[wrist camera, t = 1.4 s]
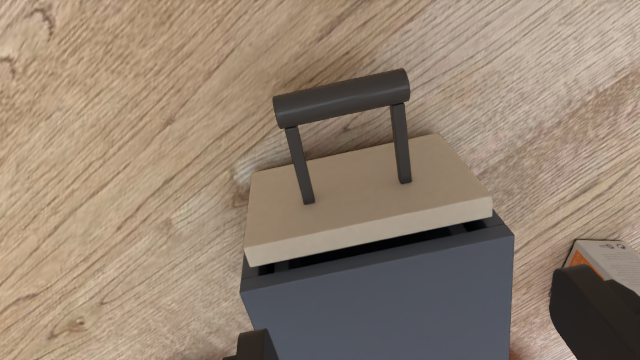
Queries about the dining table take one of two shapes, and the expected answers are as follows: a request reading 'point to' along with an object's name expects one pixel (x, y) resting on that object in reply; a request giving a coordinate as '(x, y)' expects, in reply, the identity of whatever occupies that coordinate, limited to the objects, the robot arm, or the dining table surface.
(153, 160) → the dining table surface
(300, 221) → the drawer
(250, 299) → the storage box
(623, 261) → the cosmetic box
